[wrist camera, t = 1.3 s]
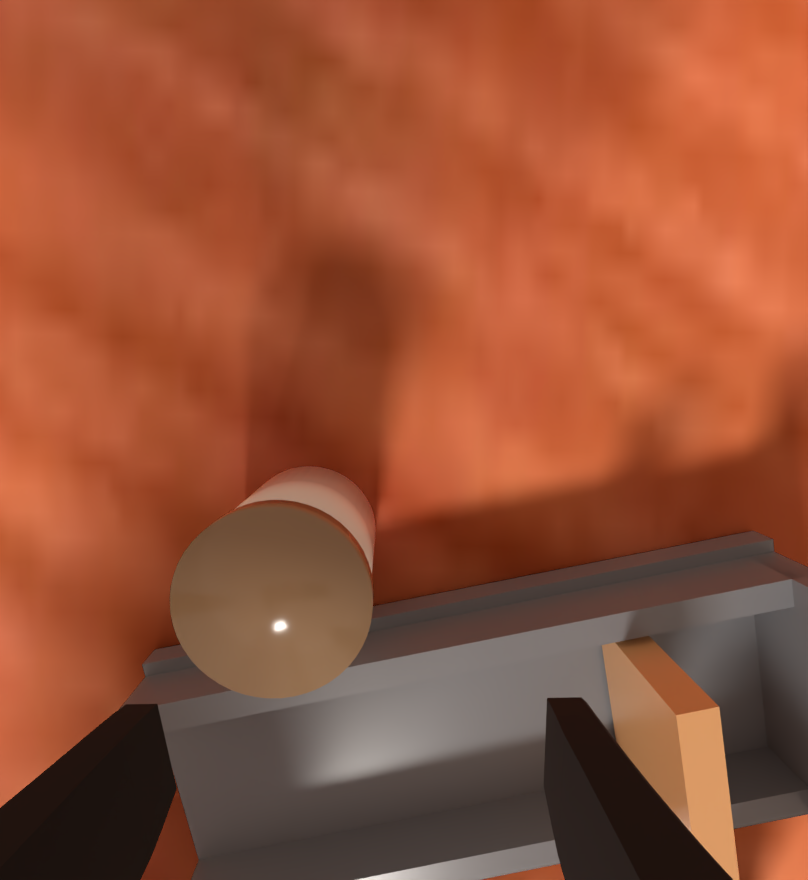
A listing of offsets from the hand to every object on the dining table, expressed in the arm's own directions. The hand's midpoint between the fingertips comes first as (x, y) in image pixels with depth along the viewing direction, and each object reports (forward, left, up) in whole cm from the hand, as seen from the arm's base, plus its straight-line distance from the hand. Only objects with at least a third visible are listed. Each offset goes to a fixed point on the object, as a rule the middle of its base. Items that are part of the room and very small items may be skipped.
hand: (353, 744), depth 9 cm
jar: (-2, +1, -10) cm, 10 cm away
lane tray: (+3, -7, -10) cm, 13 cm away
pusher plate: (+8, -7, -9) cm, 14 cm away
